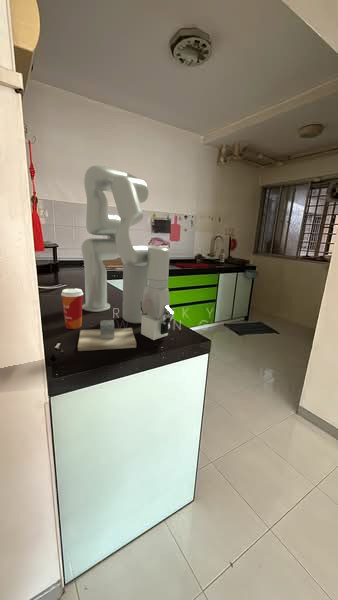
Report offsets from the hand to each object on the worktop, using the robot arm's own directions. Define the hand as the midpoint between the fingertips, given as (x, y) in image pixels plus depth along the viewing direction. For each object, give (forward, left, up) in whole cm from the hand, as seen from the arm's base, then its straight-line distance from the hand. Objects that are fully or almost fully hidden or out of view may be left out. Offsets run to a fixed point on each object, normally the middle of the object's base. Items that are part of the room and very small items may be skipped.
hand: (155, 329), depth 93 cm
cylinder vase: (-17, -4, -2) cm, 18 cm away
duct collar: (-1, +1, -2) cm, 3 cm away
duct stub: (+3, -17, -1) cm, 17 cm away
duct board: (+3, -17, -2) cm, 17 cm away
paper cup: (-11, -29, -2) cm, 31 cm away
